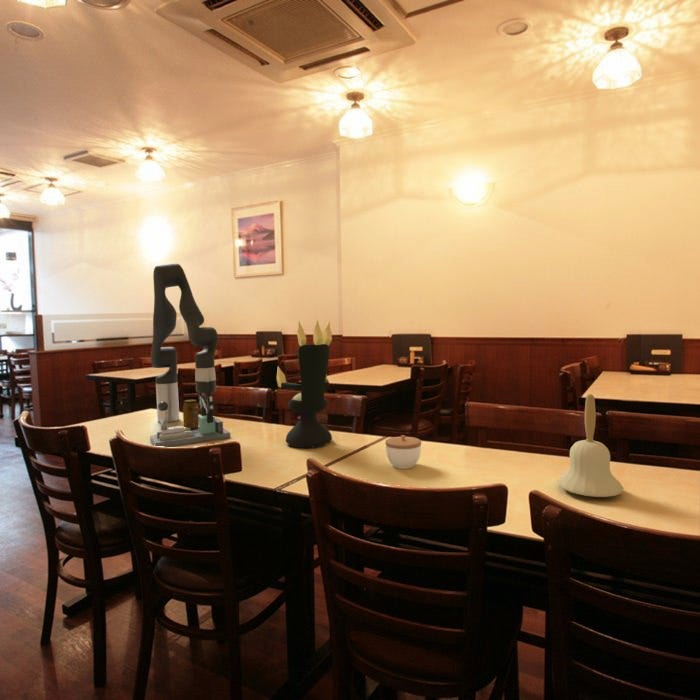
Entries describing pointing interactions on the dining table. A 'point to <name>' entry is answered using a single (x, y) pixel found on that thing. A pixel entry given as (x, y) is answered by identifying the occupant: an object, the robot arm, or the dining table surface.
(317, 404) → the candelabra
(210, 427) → the housing
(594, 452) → the handbell
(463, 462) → the dining table surface
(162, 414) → the ram
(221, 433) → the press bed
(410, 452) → the lidded jar
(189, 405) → the condiment
